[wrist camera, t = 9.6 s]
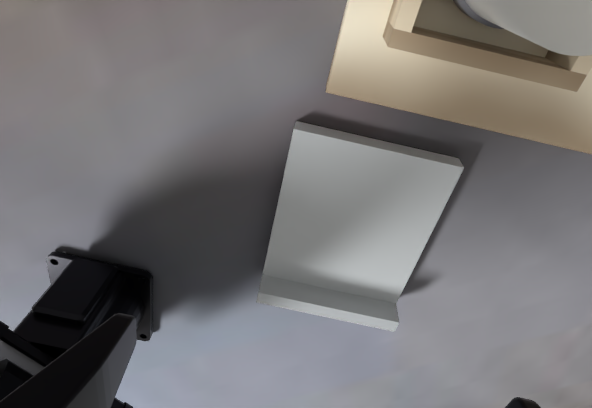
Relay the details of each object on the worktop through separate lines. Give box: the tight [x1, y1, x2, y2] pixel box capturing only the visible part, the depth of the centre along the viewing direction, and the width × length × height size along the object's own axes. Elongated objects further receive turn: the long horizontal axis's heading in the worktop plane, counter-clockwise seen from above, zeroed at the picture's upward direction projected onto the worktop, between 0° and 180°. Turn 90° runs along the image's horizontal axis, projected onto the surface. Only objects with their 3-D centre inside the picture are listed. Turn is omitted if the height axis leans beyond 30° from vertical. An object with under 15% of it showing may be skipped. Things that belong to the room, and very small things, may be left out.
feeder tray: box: [256, 121, 464, 332], centre depth 20 cm, size 10×8×2 cm
